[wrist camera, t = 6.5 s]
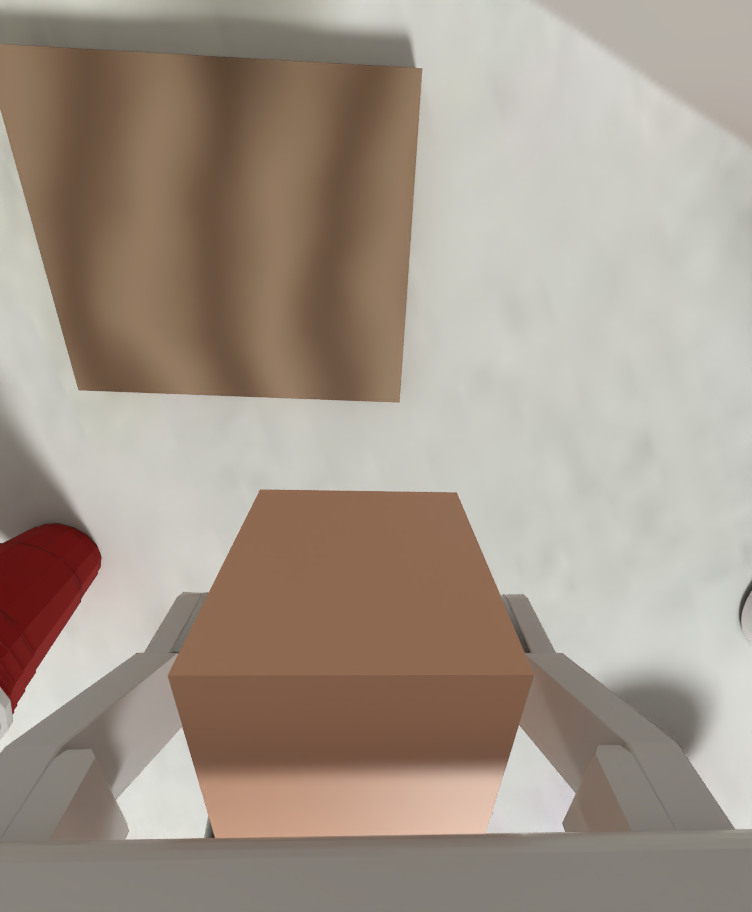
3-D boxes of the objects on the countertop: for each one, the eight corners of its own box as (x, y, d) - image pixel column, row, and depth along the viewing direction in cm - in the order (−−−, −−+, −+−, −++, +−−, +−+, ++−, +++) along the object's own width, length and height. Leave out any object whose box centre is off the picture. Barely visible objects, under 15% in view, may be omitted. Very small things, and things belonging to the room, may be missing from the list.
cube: (456, 492, 10) (534, 674, 5) (437, 631, 12) (481, 847, 7) (260, 489, 10) (167, 675, 5) (275, 631, 12) (219, 852, 7)
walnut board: (418, 83, 19) (422, 68, 18) (398, 396, 26) (399, 402, 24) (10, 60, 19) (-18, 43, 17) (94, 384, 25) (78, 390, 24)
